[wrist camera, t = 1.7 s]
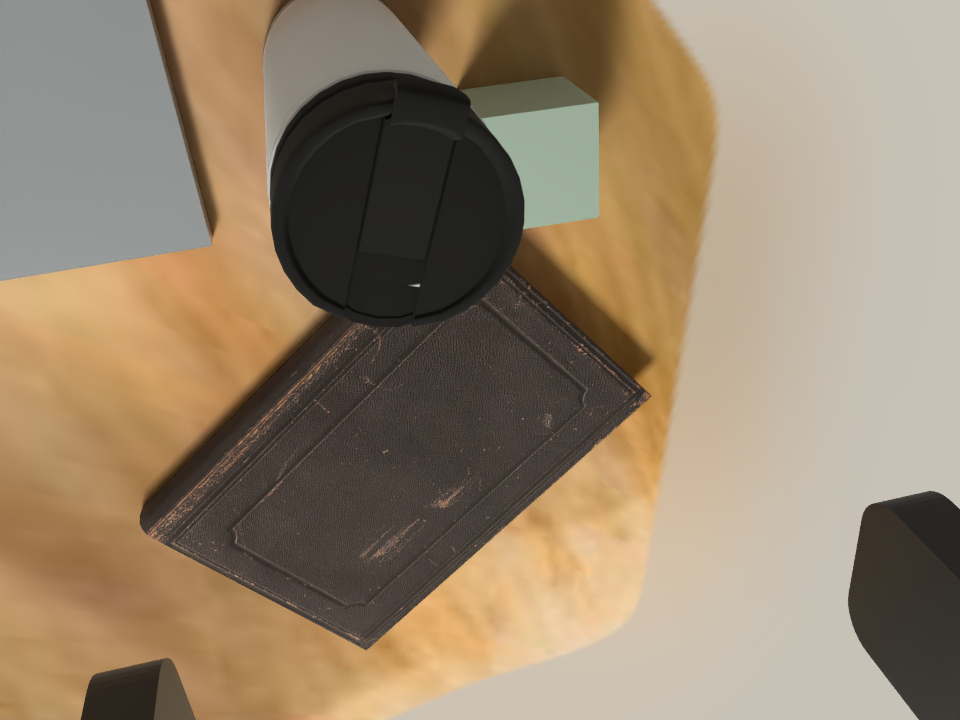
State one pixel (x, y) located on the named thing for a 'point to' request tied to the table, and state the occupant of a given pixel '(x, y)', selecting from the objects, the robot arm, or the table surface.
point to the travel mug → (380, 170)
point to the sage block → (547, 145)
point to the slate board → (90, 140)
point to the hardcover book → (392, 457)
